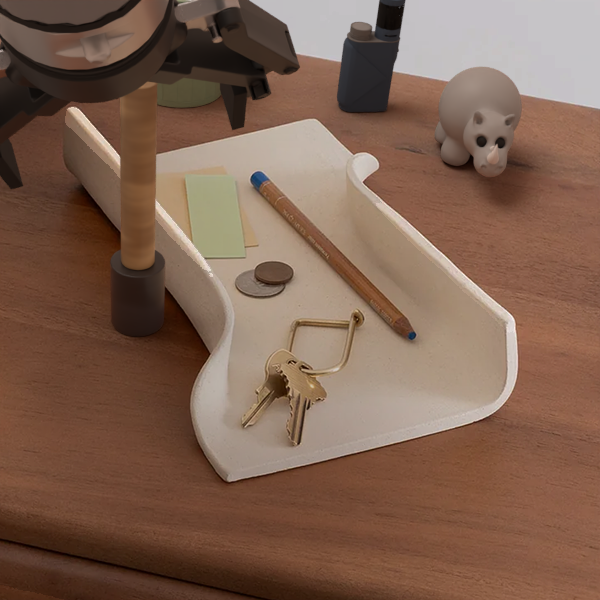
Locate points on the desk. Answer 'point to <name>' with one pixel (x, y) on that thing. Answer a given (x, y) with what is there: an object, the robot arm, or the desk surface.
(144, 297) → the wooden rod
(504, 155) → the chubby cartoon animal
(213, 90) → the cup
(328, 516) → the desk surface
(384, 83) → the vaping device
